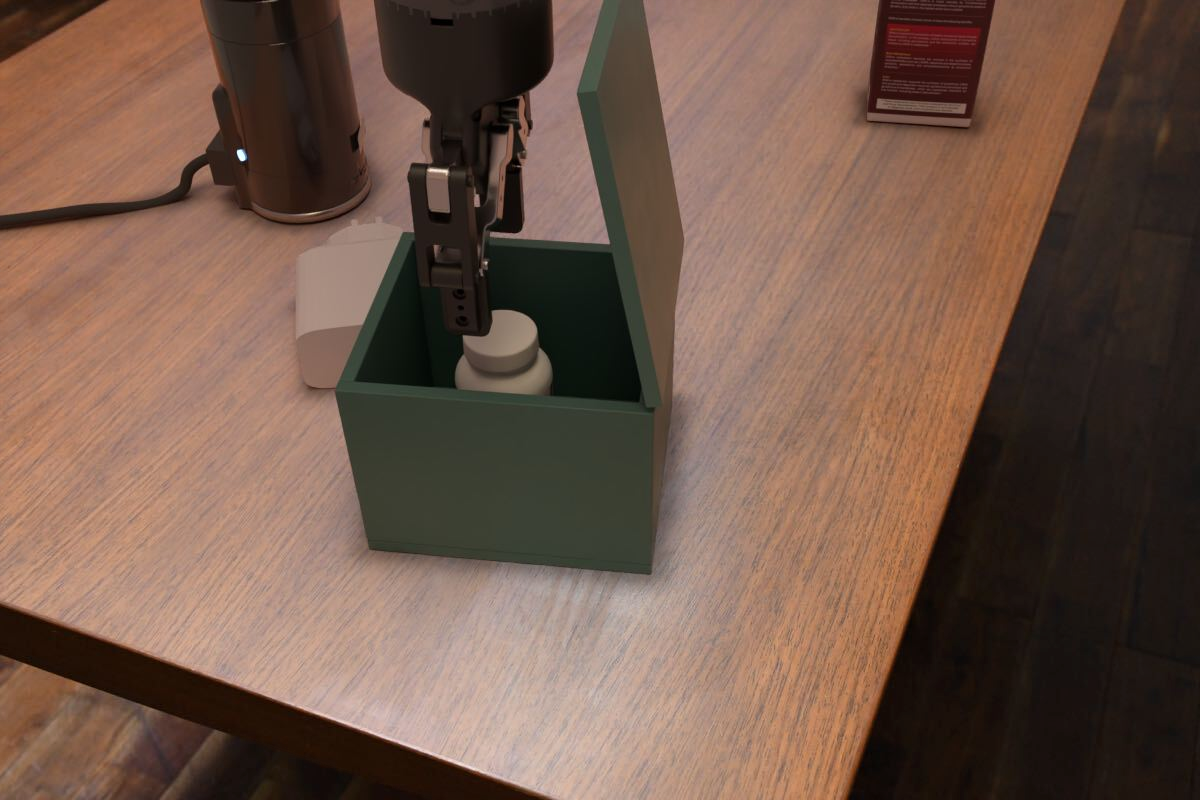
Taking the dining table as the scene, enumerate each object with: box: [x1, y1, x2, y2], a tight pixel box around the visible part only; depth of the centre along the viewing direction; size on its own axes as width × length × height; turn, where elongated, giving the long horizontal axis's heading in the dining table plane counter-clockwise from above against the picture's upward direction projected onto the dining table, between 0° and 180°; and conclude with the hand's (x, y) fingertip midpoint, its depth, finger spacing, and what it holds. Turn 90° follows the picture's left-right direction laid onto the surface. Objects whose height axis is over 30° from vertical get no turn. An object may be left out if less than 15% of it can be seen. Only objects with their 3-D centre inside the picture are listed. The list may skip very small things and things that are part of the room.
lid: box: [576, 0, 685, 408], centre depth 56 cm, size 16×14×1 cm
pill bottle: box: [455, 310, 554, 396], centre depth 67 cm, size 5×5×10 cm
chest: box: [333, 231, 676, 575], centre depth 67 cm, size 16×14×12 cm
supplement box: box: [866, 0, 996, 128], centre depth 96 cm, size 9×5×16 cm, turn 80°
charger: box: [294, 215, 408, 389], centre depth 81 cm, size 5×9×15 cm
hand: (487, 277), depth 61 cm, fingers open, 8 cm apart
